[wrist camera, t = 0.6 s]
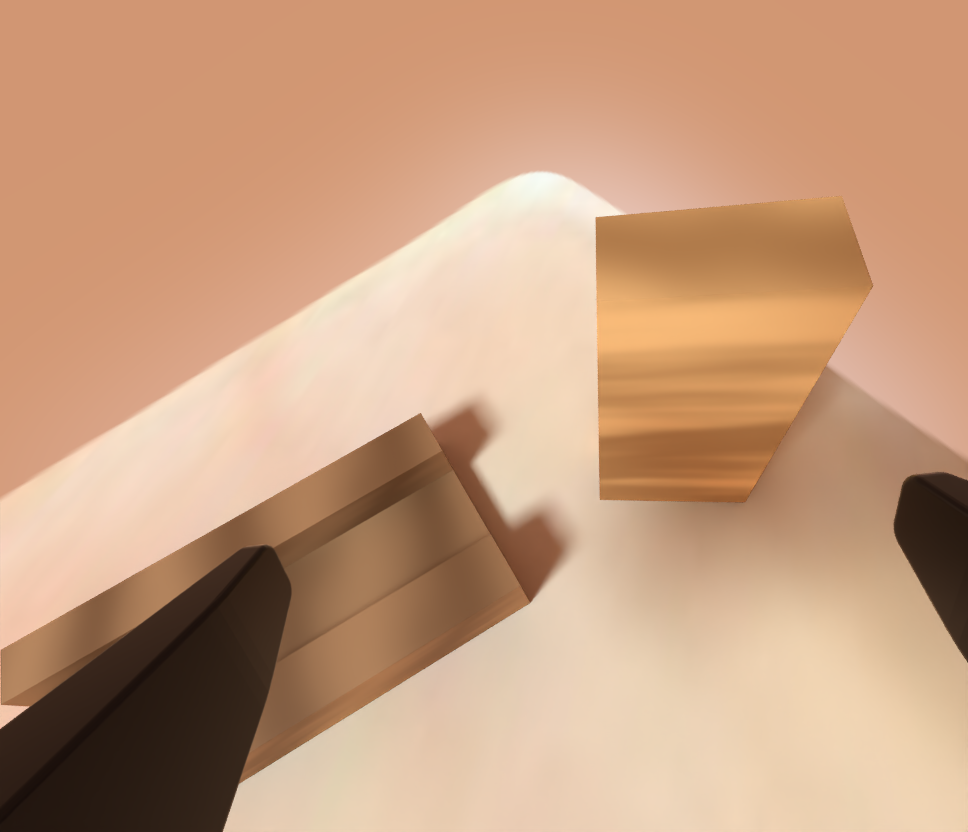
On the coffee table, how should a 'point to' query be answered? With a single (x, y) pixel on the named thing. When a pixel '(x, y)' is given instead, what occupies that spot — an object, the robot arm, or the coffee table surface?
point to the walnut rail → (321, 589)
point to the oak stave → (715, 339)
